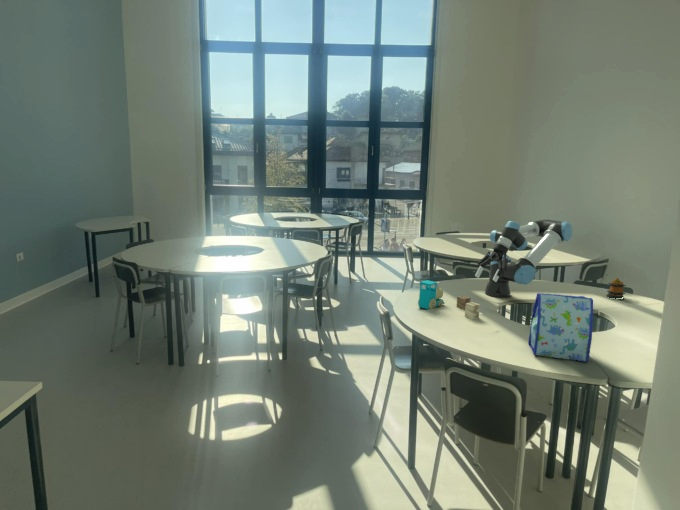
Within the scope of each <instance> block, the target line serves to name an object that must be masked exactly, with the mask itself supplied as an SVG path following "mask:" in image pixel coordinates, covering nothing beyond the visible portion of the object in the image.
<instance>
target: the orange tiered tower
mask: <svg viewBox="0 0 680 510" xmlns="http://www.w3.org/2000/svg"><path fill="white" fill-rule="evenodd" d="M614 279H615V280H612V281H611V282H609V283H608V285H610V287H609V289H608V290H606V292H607V293H606V296H607V297H609V298H608V299H610V298H615V299H616V298H622V297H624V295H626V292H624V287H627V286H626V285H625V284H624V282H623V281H621V280H619V279H620V278H618V277H616V278H614ZM607 297H606V298H607ZM624 298H625V297H624Z"/></svg>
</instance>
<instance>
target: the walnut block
mask: <svg viewBox="0 0 680 510" xmlns="http://www.w3.org/2000/svg"><path fill="white" fill-rule="evenodd" d="M456 298H457V299H456V307H457V308H459V309H462V310H465V307H466V303H470V302H471V301H472V300H471V299H472V298H471V297H469V296H466V295H461V296H460V295H459V296H457V297H456Z"/></svg>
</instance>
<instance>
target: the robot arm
mask: <svg viewBox="0 0 680 510" xmlns="http://www.w3.org/2000/svg"><path fill="white" fill-rule="evenodd" d="M572 235H573V227H572V224H571V223H570V222H567V221H564V220H563V221H560V220H553V219H541V220H540V219H539V220H533V221H531V222H528V223H527V224H525V225H520V224H519V223H518V222H516V221H514V220H513V221H512V220H509V221H508V222H506V224H505V225H504V228H503V229H501V230H495V229H493V230H492V231H491V232H490V234H489V240H490V242H492V243H494V244H495V245H494V247H493V248H492V249H493V251H492V252H491V251H487V253H486V254H485V255H484V256H483V257H482V258H481V259H480V260H479V261H478V262H477V266H478V267H477V270H476V273H475V274H474V276H475V277H476V278H477V279H479V278H480V276H481V275H482V273H483V271H484V269H485V268H484V267H486V266H487V265H489V264H490V266H489V276H488V281H487V285H486V287H485V289H484V294H485V295H486V296H487V295H488V296H491V297H494V298H509V297H511V290H510V285H509V283H510V282H513V283H516V284H520V285H529V284H530V283H532V282H533V281H534V279H535V276H536V274H537V273H536V267H537V266H538V264H540V263H541V262H542V261H543V259H545V257H546V256H547V255H548V254H549V253H550V252H551V251H552V249H553V248H555V246H560V245H561V243H563V242H569V241H570V240H571V238H572ZM529 237H532V238H535V237H538V238H539V237H540V239H539V240H538V242H537V243H536V244H534V246H533V247H532V248H531V249H530V250H529V251H528V252H527V254H526V255H525V256H524V257H520V258H518V259H517V260H516V261H512V259H511V258H510V257H509V255H508V254H507V253H508V252H509V249H510V247H514V248H515V249H516V250H517V251H523V250H525V249H526V248H527V246H528V244H529V243H528V240H527V239H526V238H529Z"/></svg>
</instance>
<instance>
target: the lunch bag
mask: <svg viewBox="0 0 680 510" xmlns="http://www.w3.org/2000/svg"><path fill="white" fill-rule="evenodd" d="M593 320H594V299H593V298H592V297H587V296H584V295H583V296H582V295H580V296H579V295H578V296H576V295H566V294H564V295H563V294H558V293H557V294H552V293H540V292H537V293H536V297H535V301H534V304H533V307H532V316H531V321H530V326H529V327H530V328H529V329H530V330H529V336H528V346H529V347H530V348H531V351H532V353H533V356H534V355H536V356H539V357H540V356H541V357H546V358H553V357H554V358H555V359H561V358H563V360H569V359H571V360H570V361H576V360H578V361H577V362H585V361H586V362H585V363H588V362H589V358H590V352H591V347H592V341H593V323H594V321H593Z"/></svg>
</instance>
